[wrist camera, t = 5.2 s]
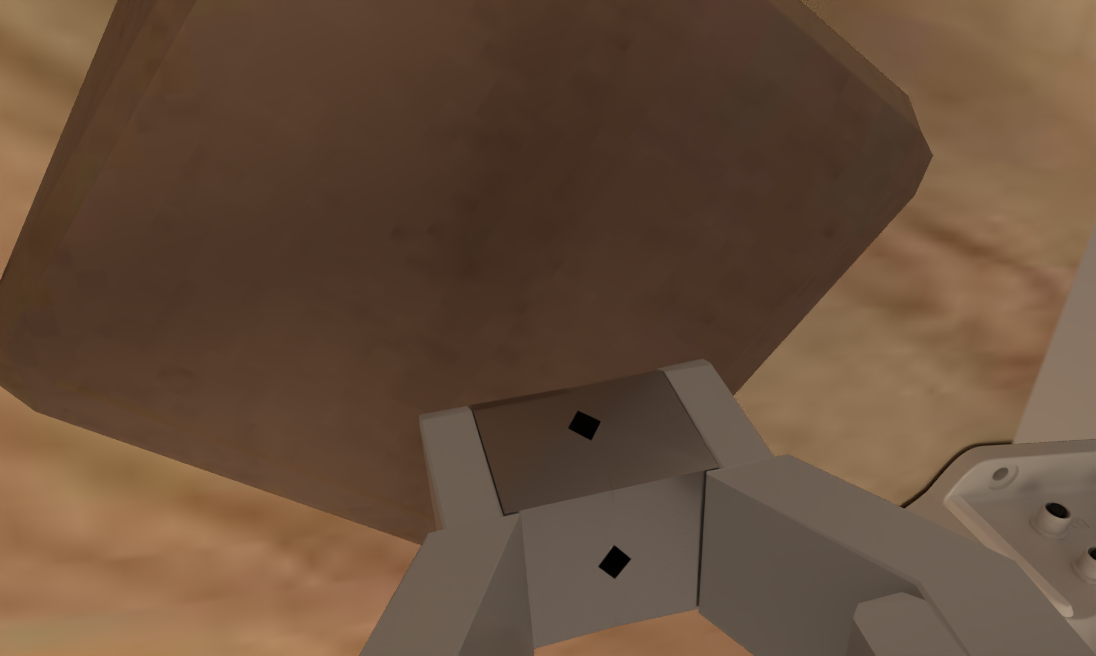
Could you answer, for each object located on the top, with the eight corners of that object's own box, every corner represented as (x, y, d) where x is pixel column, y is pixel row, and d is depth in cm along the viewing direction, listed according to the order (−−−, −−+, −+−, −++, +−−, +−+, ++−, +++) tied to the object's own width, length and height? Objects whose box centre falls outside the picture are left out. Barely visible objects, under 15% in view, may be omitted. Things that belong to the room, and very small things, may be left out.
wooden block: (119, -12, 28) (-64, 414, 12) (296, -348, 25) (375, -388, 9) (412, 157, 33) (563, 620, 17) (591, -104, 30) (988, 157, 14)
